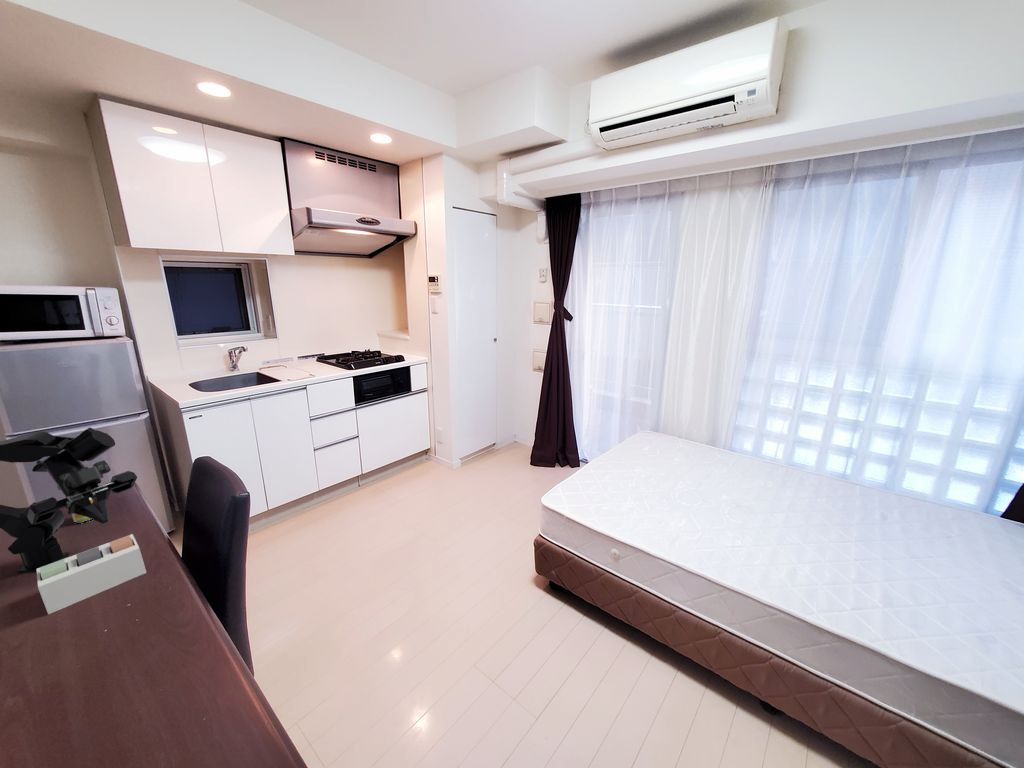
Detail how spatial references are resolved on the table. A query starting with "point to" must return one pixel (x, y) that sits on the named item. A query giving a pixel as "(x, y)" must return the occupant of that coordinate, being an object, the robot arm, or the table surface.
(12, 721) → the table surface
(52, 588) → the button console
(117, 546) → the terracotta button
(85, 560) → the charcoal button
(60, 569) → the sage-green button
